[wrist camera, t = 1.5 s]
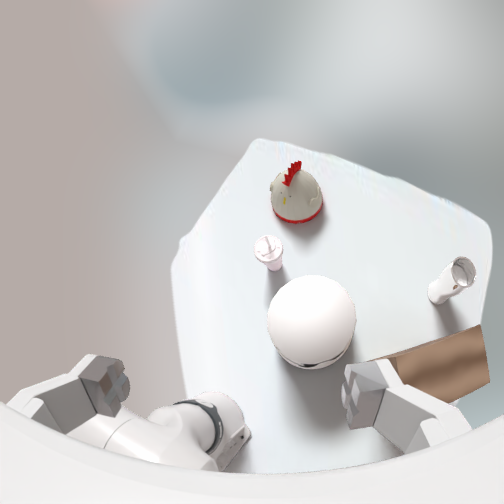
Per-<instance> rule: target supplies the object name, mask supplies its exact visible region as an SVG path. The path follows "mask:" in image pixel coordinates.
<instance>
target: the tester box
mask: <svg viewBox="0 0 504 504" xmlns="http://www.w3.org/2000/svg"><path fill="white" fill-rule="evenodd" d="M380 359H388V360H389V361H390V363H391V365H392V366H393V368H394V369H395V371H396V373H397V374H398V376H399V378H400V379H401V381H402V383H403V384H404V385H407V384H408V385H410V386H412V387H414V388H416V389H418V390H420V391H422V392H424V393H426V394H428V395H431V396H433V397H435V398H437V399H439V400H441V401H443V402H446V403H450V402H453V401H455V400H457V399H459V398H461V397H463V396H465V395H467V394H469V393H471V392H473V391H475V390H477V389H479V388H481V387H482V386H484V385H486V384H487V383H490V378H489V370H488V364H487V357H486V351H485V345H484V340H483V335H482V330H481V326H480V325H477V326H474V327H472V328H469V329H466V330H464V331H461V332H458V333H455V334H452V335H449V336H446V337H443V338H440V339H437V340H433V341H430V342H427V343H424V344H421V345H419V346H416V347H413V348H410V349H407V350H404V351H400V352H397V353H394V354H391V355H387V356H384V357H381V358H377V359H374V360H380ZM374 360H370V361H374ZM370 361H367V362H370Z"/></svg>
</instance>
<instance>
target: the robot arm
mask: <svg viewBox="0 0 504 504" xmlns="http://www.w3.org/2000/svg"><path fill="white" fill-rule="evenodd" d="M124 369H125V368H124V365H123V362H122V361H121V360H119V359H114V358H109V357H104V356H97V355H92V354H87V355H86V356H85V357H84V358H83V359H82V360H81V361H80V362H79V363H78V364H77V365H76V366H75V367H74V368H73V369H72V370H71V371H70V372H69V373H68V374H63V375H60V376H58V377H55V378H52V379H50V380H47V381H44V382H41V383H39V384H36V385H33V386H30V387H27V388H25V389H22V390H20V391H19V392H18V393H17V395H15V396H14V397H13V398H12V399H11V400H10V401H9V402H8V403H7V404H4V403H2V402H1V401H0V504H504V414H503V415H501V416H499V417H497V418H495V419H494V420H492V421H490V422H488V423H486V424H484V425H482V426H480V427H478V428H475V429H473V430H472V428H471V427H470V425H469V424H468V422H467V420H466V419H465V417H464V416H463V414H462V413H461V412H460V410H459V409H458V408H456V407H454V406H452V405H450V404H448V403H446V402H443V401H441V400H439V399H437V398H435V397H433V396H431V395H428V394H426V393H424V392H422V391H420V390H418V389H416V388H414V387H412V386H410V385H408V384H407V385H404V384H403V383H402V381H401V379H400V378H399V376H398V374H397V373H396V371H395V369H394V368H393V366H392V365H391V363H390V361H389V360H388V359H380V360H374V361H370V362H363V363H355V364H347V365H346V367H345V372H344V374H345V377H346V380H345V381H344V382H343V384H342V394H341V398H342V404H343V407H344V408H345V409H346V410H347V414H346V418H347V421H348V425H349V428H350V429H358V428H365V427H372V426H373V428H375V429H376V430H377V431H378V432H379V433H381V434H382V435H383V436H384V437H385V438H387V439H388V440H389V441H390V442H392V443H393V444H394V445H395V446H397V447H398V448H399V449H400V450H402V451H403V452H404V455H402V456H398V457H394V458H390V459H386V460H382V461H378V462H373V463H368V464H363V465H358V466H352V467H346V468H340V469H332V470H324V471H314V472H302V473H284V474H245V473H226V472H222V471H223V470H224V469H225V468H226V467H227V465H228V464H229V463H230V462H231V460H232V459H233V458H234V456H235V455H236V454H237V453H238V451H239V450H240V449H241V447H242V446H243V445H244V443H245V442H246V441H247V439H248V438H249V437H250V435H251V432H250V430H249V428H248V427H247V425H246V424H245V422H244V419H243V415H242V412H241V410H240V408H239V406H238V405H237V403H236V402H235V401H234V400H233V399H232V398H230V397H229V396H227V395H225V394H223V393H220V392H215V391H208V392H203V393H201V394H199V395H197V396H195V397H193V398H191V399H184V400H182V401H180V402H178V403H175V404H173V405H170V406H164V407H159V408H157V409H155V410H154V411H153V412H152V413H151V414H150V415H149V416H148V417H147V419H145V418H142V417H140V416H139V415H137V414H135V413H134V412H132V411H130V410H129V409H127V408H126V407H124V406H122V405H121V402H123V401H124V400H126V399H127V397H128V396H129V392H130V383H129V379H128V377H127V376H126V375H125V374H124V373H123V371H124ZM241 436H244V438H241Z"/></svg>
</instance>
